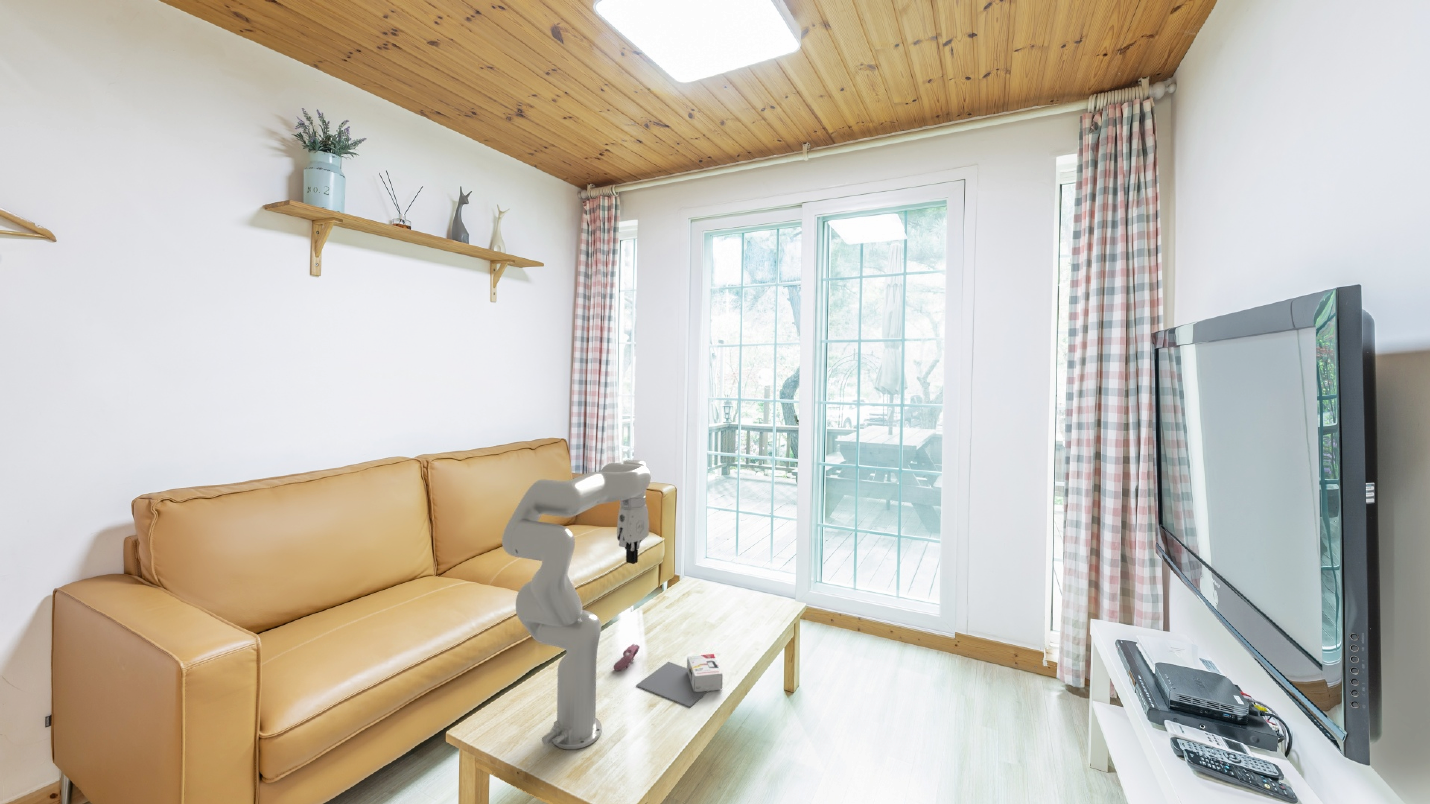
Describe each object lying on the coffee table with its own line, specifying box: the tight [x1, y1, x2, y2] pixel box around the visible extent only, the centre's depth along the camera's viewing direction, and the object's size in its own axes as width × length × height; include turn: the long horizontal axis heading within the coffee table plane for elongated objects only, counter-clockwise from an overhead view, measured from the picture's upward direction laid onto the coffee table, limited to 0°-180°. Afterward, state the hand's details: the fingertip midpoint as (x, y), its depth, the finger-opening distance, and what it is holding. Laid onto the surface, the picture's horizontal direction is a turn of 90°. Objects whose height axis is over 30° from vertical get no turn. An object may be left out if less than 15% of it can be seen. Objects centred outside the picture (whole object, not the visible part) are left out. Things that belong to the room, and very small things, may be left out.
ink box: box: [686, 653, 723, 692], centre depth 165 cm, size 9×5×12 cm
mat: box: [635, 661, 709, 709], centre depth 164 cm, size 16×19×1 cm
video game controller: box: [613, 643, 640, 672], centre depth 174 cm, size 10×5×7 cm, turn 169°
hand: (631, 562), depth 165 cm, fingers closed
